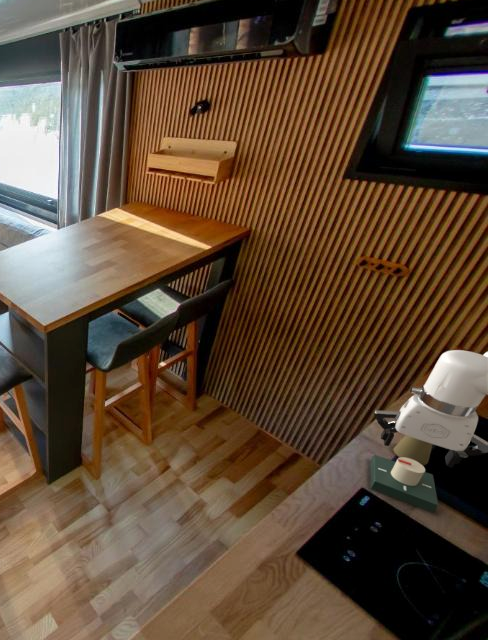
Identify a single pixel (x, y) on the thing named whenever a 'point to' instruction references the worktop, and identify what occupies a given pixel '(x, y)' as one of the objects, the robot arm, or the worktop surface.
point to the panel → (402, 485)
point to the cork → (414, 449)
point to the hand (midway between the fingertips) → (415, 452)
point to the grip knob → (407, 471)
